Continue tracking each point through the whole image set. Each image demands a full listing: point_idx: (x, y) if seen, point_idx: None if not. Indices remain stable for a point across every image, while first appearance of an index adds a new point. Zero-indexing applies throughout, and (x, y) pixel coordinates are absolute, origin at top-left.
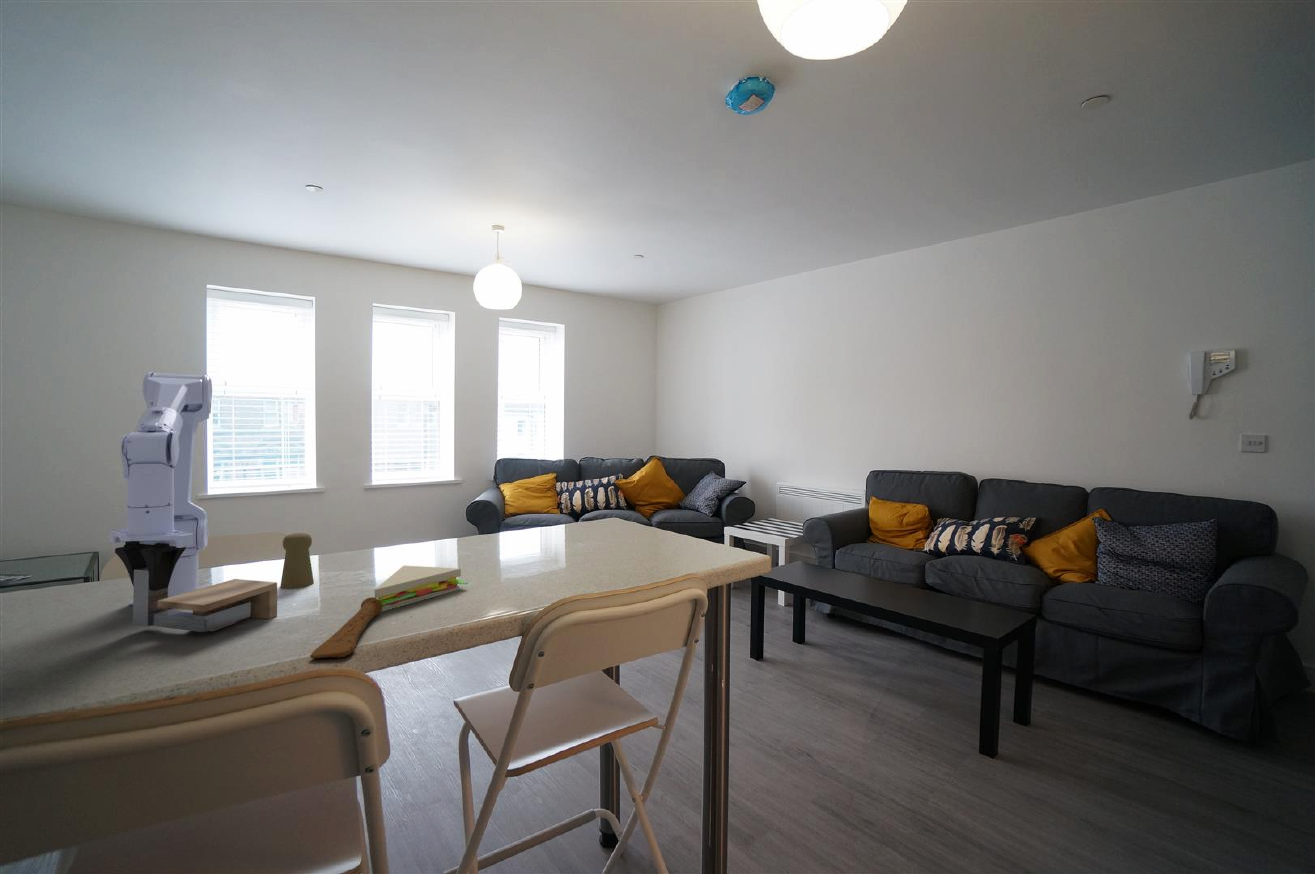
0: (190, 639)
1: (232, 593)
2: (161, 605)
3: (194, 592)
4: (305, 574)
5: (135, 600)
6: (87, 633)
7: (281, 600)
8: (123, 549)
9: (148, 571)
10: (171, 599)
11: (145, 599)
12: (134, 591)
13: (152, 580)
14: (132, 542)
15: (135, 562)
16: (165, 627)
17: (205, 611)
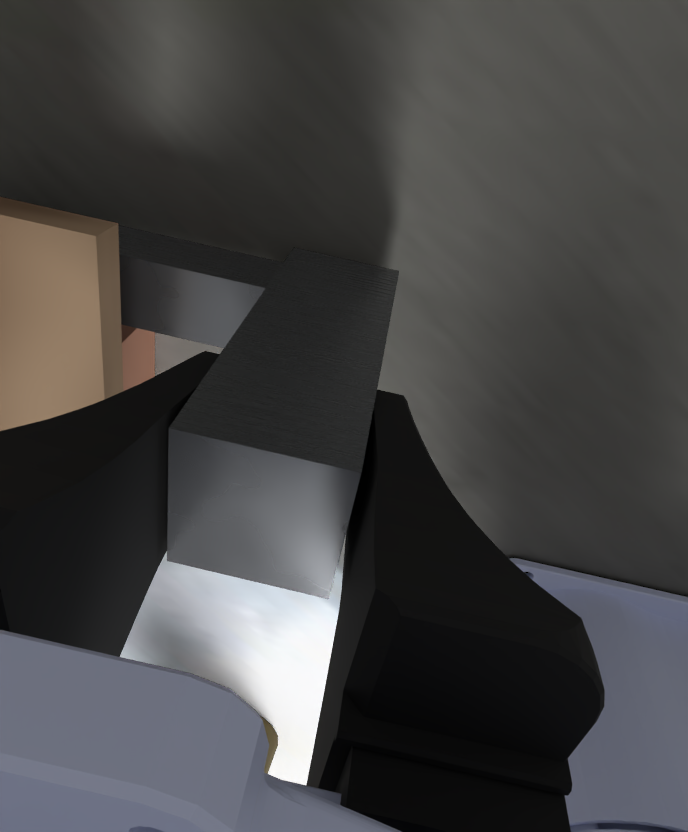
0: (25, 173)
1: None
2: (72, 216)
3: (56, 414)
4: None
5: (370, 329)
6: (649, 244)
7: None
8: (398, 621)
9: (158, 415)
10: (27, 264)
11: (273, 312)
12: (372, 360)
13: (167, 376)
14: (425, 815)
15: (364, 542)
16: (192, 242)
17: None
